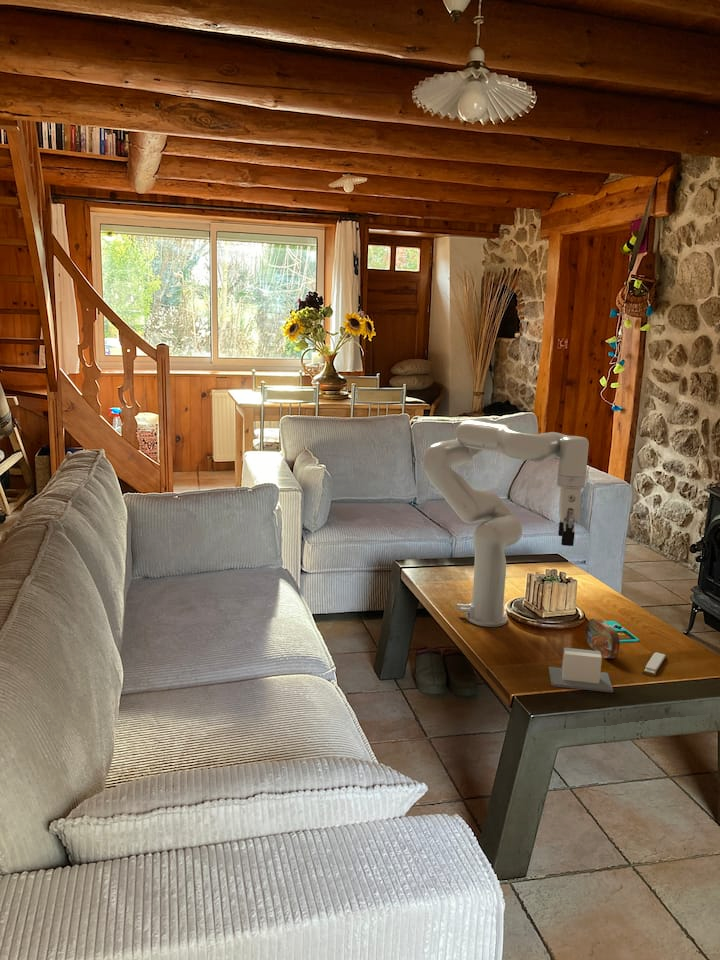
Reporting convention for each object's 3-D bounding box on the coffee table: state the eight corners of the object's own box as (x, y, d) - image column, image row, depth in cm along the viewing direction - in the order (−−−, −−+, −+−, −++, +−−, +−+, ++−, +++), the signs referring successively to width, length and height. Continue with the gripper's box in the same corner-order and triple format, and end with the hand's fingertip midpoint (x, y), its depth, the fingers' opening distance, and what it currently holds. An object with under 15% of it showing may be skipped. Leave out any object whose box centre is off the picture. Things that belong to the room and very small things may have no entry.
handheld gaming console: (614, 619, 235) (640, 639, 220) (614, 622, 235) (640, 643, 221) (589, 620, 233) (614, 640, 219) (589, 624, 233) (613, 644, 219)
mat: (551, 685, 191) (551, 683, 191) (548, 668, 200) (548, 666, 200) (613, 692, 188) (613, 690, 188) (607, 674, 198) (607, 672, 198)
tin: (583, 641, 219) (586, 613, 218) (593, 640, 220) (596, 613, 218) (609, 663, 205) (612, 634, 203) (619, 663, 205) (622, 634, 204)
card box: (599, 683, 192) (601, 657, 190) (562, 679, 193) (565, 653, 192) (597, 676, 195) (599, 651, 194) (561, 672, 197) (563, 647, 196)
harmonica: (654, 656, 212) (655, 649, 211) (666, 659, 210) (666, 652, 210) (642, 675, 200) (643, 668, 199) (654, 678, 198) (655, 671, 198)
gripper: (589, 488, 200) (582, 550, 203) (581, 476, 216) (576, 533, 220) (559, 486, 201) (554, 548, 204) (554, 474, 218) (549, 531, 221)
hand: (565, 540), depth 212 cm, fingers open, 9 cm apart
